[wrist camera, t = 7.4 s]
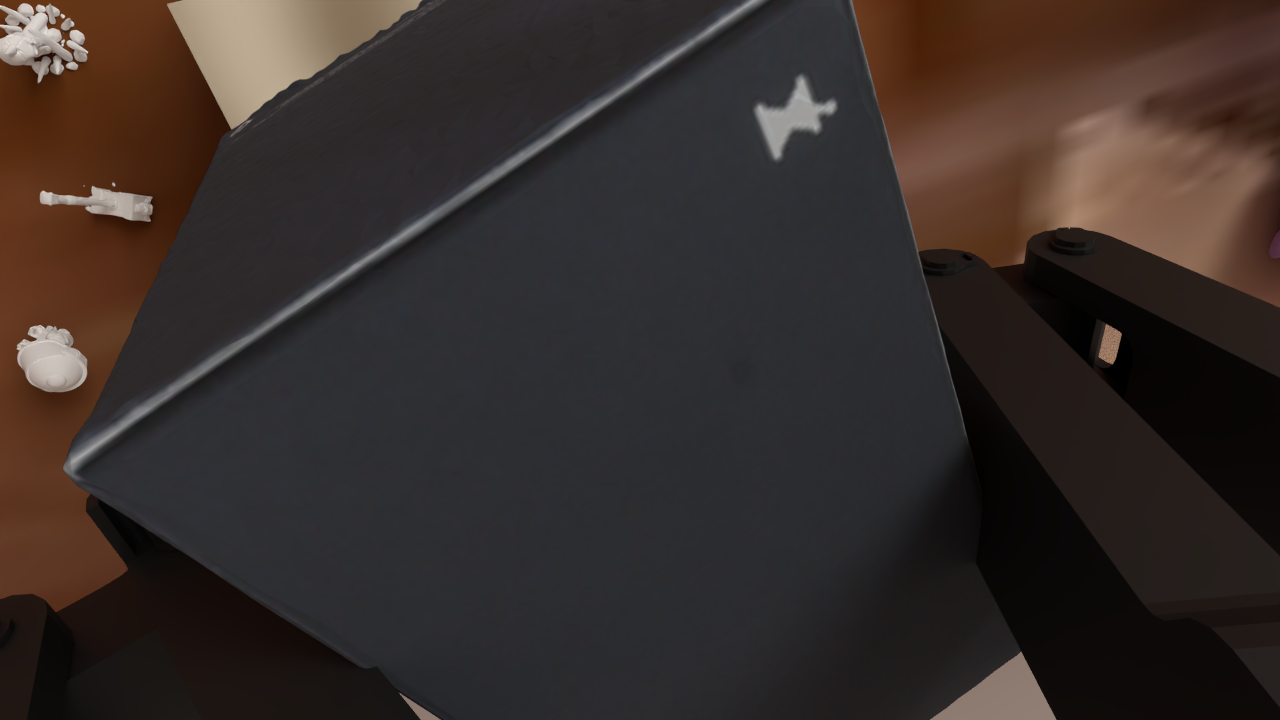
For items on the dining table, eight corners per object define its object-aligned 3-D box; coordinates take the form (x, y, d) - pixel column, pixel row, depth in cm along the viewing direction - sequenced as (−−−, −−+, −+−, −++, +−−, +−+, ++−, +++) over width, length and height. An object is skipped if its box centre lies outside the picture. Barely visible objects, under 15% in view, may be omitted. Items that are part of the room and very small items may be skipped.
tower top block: (515, -81, 23) (549, -91, 19) (607, 277, 30) (644, 314, 26) (189, 0, 20) (166, 3, 17) (372, 366, 27) (381, 418, 24)
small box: (186, 147, 12) (-52, 496, 4) (492, -53, 13) (870, -130, 4) (513, 496, 19) (700, 930, 10) (712, 350, 19) (1050, 643, 11)
